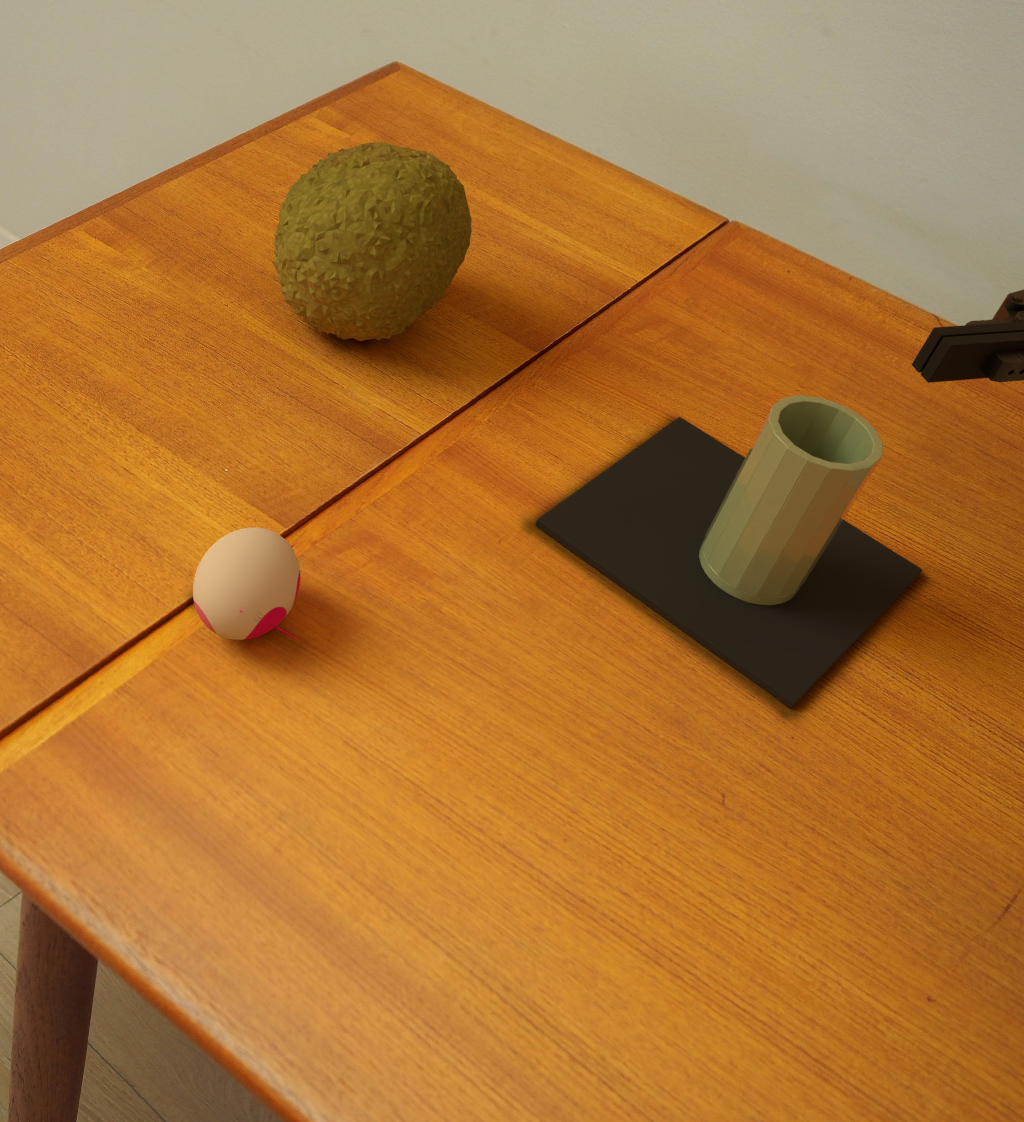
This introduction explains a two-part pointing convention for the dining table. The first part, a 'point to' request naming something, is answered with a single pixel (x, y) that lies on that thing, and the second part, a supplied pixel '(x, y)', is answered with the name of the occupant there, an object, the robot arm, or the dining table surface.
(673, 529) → the mat
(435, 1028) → the dining table surface
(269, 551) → the stress ball
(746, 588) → the cup
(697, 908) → the dining table surface
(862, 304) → the dining table surface
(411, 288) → the fruit
